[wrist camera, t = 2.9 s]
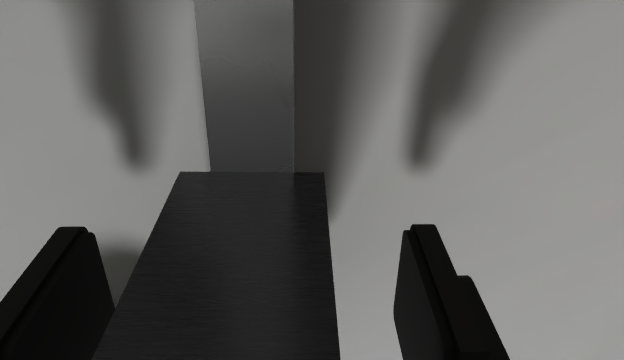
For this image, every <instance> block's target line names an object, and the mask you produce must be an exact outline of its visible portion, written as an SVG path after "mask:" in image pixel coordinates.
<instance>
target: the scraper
mask: <svg viewBox="0 0 624 360" xmlns="http://www.w3.org/2000/svg"><path fill="white" fill-rule="evenodd" d="M194 5H195V15H196V25H197V35H198V45H199V55H200V65H201V76H202V86H203V96H204V106H205V116H206V126H207V136H208V146H209V156H210V166H211V172H180V173H179V175H178V177H177V179H176V181H175V184H174V186H173V188H172V190H171V192H170V194H169V196H168V198H167V201H166V203H165V205H164V207H163V209H162V211H161V213H160V215H159V217H158V220H157V222H156V224H155V226H154V228H153V230H152V232H151V234H150V237H149V239H148V241H147V243H146V245H145V247H144V249H143V251H142V254H141V256H140V258H139V260H138V262H137V264H136V266H135V268H134V271H133V273H132V275H131V277H130V279H129V281H128V283H127V285H126V288H125V290H124V292H123V294H122V296H121V298H120V300H119V302H118V305H117V307H116V309H115V311H114V313H113V315H112V317H111V319H110V322H109V324H108V326H107V328H106V330H105V332H104V334H103V336H102V339H101V341H100V343H99V345H98V347H97V349H96V351H95V353H94V356H93V358H92V360H340V349H339V338H338V327H337V315H336V304H335V293H334V282H333V270H332V259H331V248H330V237H329V225H328V214H327V203H326V192H325V180H324V173H311V172H294V0H194Z"/></svg>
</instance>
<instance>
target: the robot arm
mask: <svg viewBox="0 0 624 360" xmlns="http://www.w3.org/2000/svg"><path fill="white" fill-rule="evenodd" d="M114 311H115V307H114V303H113V300H112V296H111V292H110V289H109V285H108V281H107V278H106V274H105V270H104V267H103V263H102V259H101V256H100V252H99V248H98V245H97V241H96V237H95V235H94V234H93V233H92V232H88V230H87V229H86V228H85V227H59V228H58V229H57V230H56V231H55V232H54V234H53V235H52V236H51V238H50V239H49V240H48V241H47V243H46V244H45V245H44V247H43V248H42V249H41V250H40V252H39V253H38V254H37V256H36V257H35V258H34V259H33V261H32V262H31V263H30V265H29V266H28V267H27V268H26V270H25V271H24V272H23V274H22V275H21V276H20V278H19V279H18V280H17V281H16V283H15V284H14V285H13V287H12V288H11V289H10V290H9V292H8V293H7V294H6V296H5V297H4V298H3V299H2V301H1V302H0V360H92V358H93V356H94V353H95V351H96V349H97V347H98V345H99V343H100V341H101V339H102V336H103V334H104V332H105V330H106V328H107V326H108V324H109V322H110V319H111V317H112V315H113V313H114ZM394 322H395V326H396V331H397V335H398V339H399V344H400V348H401V352H402V357H403V360H510V359H509V356H508V354H507V352H506V350H505V348H504V346H503V344H502V342H501V339H500V337H499V335H498V333H497V331H496V329H495V327H494V324H493V322H492V320H491V318H490V316H489V314H488V312H487V310H486V307H485V305H484V303H483V301H482V299H481V297H480V295H479V293H478V290H477V288H476V286H475V284H474V282H473V280H472V279H471V277H469V276H457V274H456V271H455V269H454V267H453V265H452V262H451V260H450V258H449V255H448V253H447V251H446V248H445V246H444V244H443V242H442V239H441V237H440V235H439V232H438V230H437V228H436V226H435V225H434V224H413V225H412V226H411V228H410V230H404V232H403V237H402V245H401V253H400V261H399V269H398V277H397V285H396V293H395V301H394Z"/></svg>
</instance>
